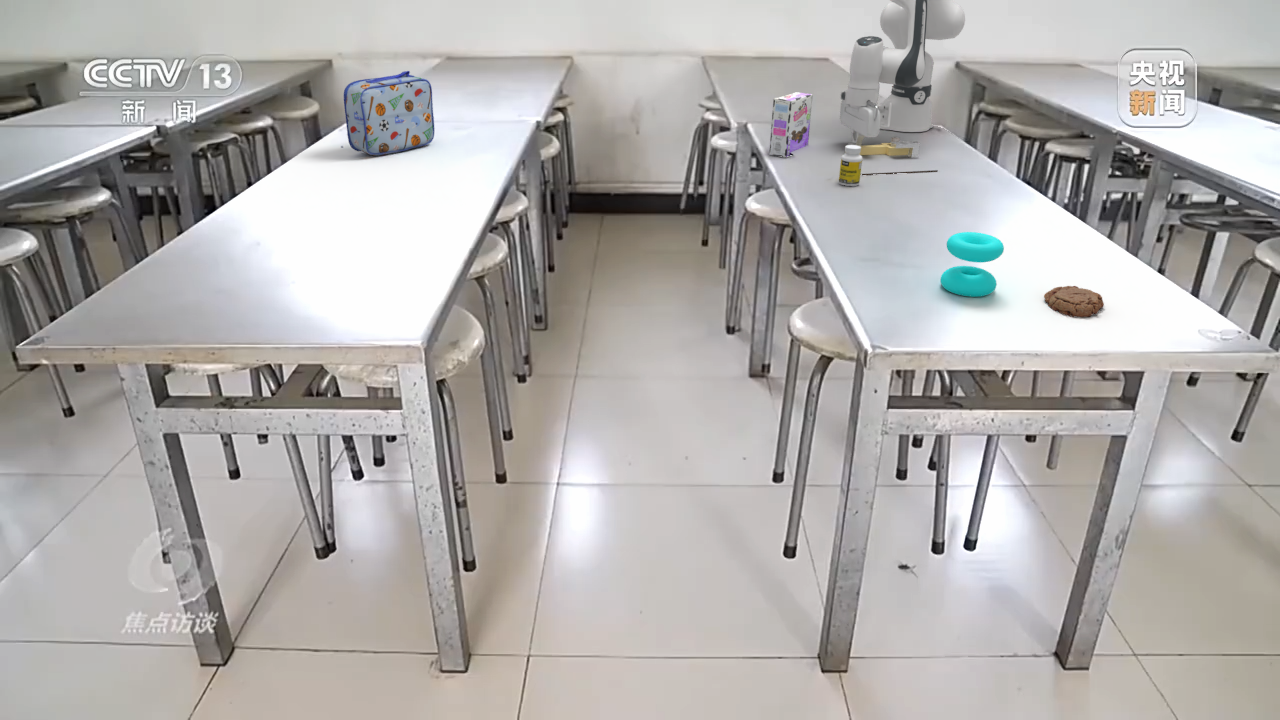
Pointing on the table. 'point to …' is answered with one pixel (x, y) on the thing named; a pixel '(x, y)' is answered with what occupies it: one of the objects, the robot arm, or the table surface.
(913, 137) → the table surface
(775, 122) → the candy box
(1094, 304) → the cookie
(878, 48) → the robot arm
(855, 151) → the supplement bottle
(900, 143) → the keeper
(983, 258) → the cyan spool
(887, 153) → the link
